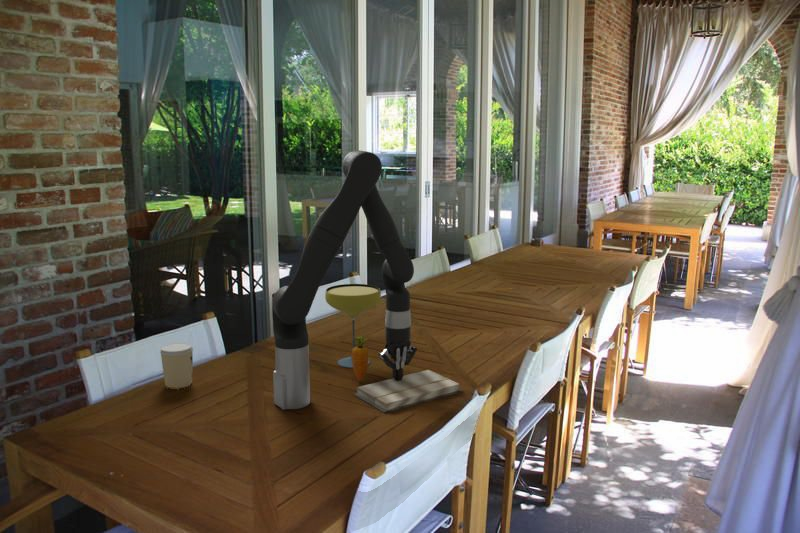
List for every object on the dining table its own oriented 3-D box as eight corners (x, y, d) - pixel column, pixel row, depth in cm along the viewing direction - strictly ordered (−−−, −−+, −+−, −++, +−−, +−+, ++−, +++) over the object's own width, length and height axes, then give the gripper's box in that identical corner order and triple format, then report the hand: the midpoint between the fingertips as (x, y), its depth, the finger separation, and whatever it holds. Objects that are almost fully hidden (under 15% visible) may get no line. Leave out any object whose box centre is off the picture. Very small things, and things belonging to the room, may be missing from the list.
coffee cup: (200, 384, 202) (198, 346, 200) (172, 393, 195) (169, 353, 193) (185, 377, 208) (182, 340, 206) (156, 385, 201) (154, 347, 199)
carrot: (360, 378, 207) (359, 332, 204) (371, 382, 204) (371, 335, 201) (348, 383, 203) (348, 335, 200) (360, 386, 200) (360, 338, 197)
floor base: (384, 413, 181) (384, 404, 180) (353, 395, 194) (353, 386, 193) (462, 391, 197) (463, 382, 196) (429, 375, 209) (429, 368, 209)
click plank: (374, 403, 186) (374, 396, 186) (357, 393, 194) (357, 387, 193) (446, 384, 201) (446, 377, 201) (428, 375, 208) (428, 369, 208)
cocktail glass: (348, 376, 209) (347, 298, 204) (315, 361, 223) (314, 288, 218) (392, 363, 221) (392, 290, 216) (358, 350, 234) (357, 281, 230)
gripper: (386, 330, 189) (386, 388, 192) (423, 323, 197) (423, 379, 200) (372, 324, 195) (372, 380, 198) (408, 317, 203) (408, 371, 206)
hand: (397, 379), depth 199 cm, fingers closed
